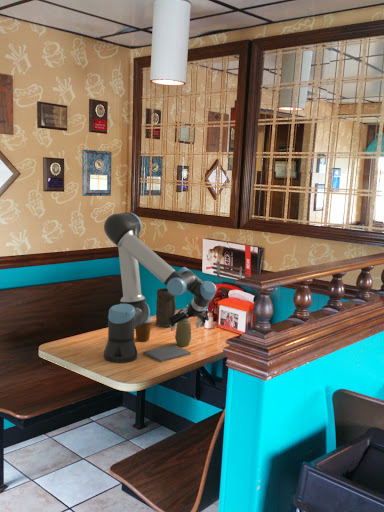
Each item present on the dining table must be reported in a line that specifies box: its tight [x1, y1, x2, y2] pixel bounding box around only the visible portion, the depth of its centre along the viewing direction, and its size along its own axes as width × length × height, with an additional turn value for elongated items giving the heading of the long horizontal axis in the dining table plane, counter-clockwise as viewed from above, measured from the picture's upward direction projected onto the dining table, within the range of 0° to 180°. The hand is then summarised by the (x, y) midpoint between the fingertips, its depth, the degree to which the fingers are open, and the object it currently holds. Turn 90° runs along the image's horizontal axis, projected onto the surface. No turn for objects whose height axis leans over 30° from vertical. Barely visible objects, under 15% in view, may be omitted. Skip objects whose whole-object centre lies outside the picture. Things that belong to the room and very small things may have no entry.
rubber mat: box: [142, 344, 192, 363], centre depth 248 cm, size 18×13×1 cm
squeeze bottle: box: [174, 308, 192, 347], centre depth 261 cm, size 8×8×18 cm
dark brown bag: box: [155, 287, 177, 328], centre depth 291 cm, size 15×11×20 cm
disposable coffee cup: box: [134, 315, 154, 343], centre depth 266 cm, size 10×10×12 cm
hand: (184, 327), depth 262 cm, fingers open, 13 cm apart
